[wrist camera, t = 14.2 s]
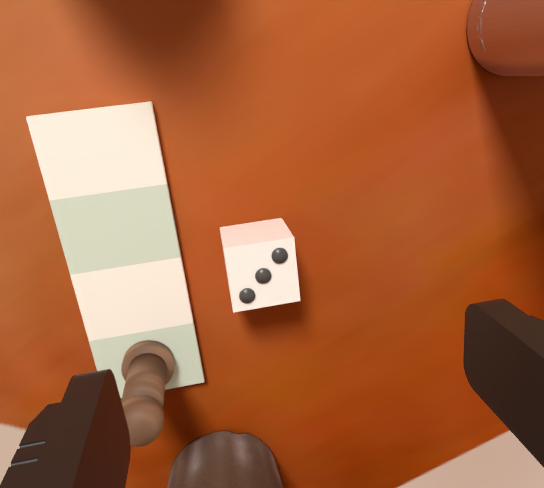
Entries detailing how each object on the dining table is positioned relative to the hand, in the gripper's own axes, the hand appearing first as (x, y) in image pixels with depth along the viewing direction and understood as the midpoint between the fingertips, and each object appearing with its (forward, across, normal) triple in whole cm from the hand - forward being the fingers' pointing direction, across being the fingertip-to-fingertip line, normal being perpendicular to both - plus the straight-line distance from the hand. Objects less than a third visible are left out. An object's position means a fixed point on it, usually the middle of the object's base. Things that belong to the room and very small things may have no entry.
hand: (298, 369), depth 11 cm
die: (+34, -2, +10) cm, 36 cm away
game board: (+34, +10, +9) cm, 37 cm away
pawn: (+33, +10, +20) cm, 40 cm away
